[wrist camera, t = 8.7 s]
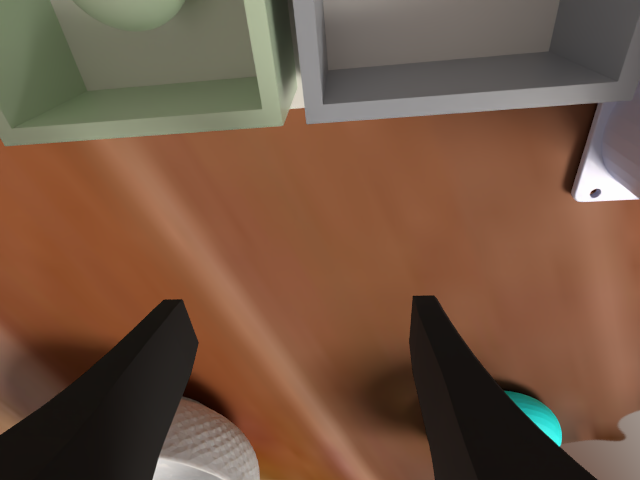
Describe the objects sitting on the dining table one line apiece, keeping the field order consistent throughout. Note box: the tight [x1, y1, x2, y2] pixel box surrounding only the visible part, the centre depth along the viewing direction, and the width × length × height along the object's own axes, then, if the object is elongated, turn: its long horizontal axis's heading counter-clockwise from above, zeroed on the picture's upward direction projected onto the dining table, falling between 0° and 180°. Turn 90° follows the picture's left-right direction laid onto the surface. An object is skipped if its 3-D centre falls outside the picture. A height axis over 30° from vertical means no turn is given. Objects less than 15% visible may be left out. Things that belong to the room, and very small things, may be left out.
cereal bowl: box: [153, 396, 260, 480], centre depth 33 cm, size 17×17×7 cm
